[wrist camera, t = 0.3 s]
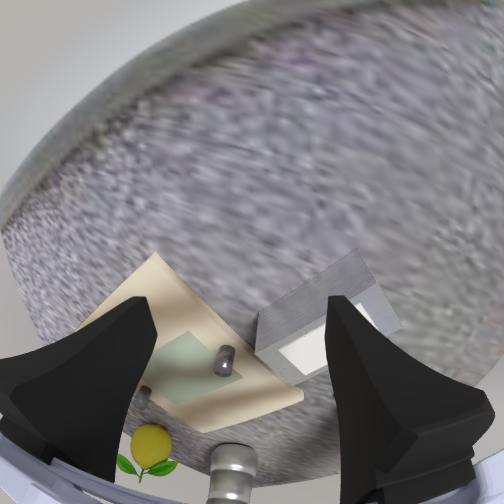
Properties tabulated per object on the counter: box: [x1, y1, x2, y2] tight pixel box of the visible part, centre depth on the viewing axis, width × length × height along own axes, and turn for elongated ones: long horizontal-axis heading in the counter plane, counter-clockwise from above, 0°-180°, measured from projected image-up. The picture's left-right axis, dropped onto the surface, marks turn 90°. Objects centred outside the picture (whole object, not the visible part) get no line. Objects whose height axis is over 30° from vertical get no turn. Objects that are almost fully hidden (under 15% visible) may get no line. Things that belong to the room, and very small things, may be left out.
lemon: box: [116, 424, 178, 483], centre depth 28 cm, size 7×6×10 cm
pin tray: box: [75, 252, 304, 433], centre depth 24 cm, size 20×15×4 cm
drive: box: [255, 248, 403, 386], centre depth 19 cm, size 4×9×5 cm, turn 130°
